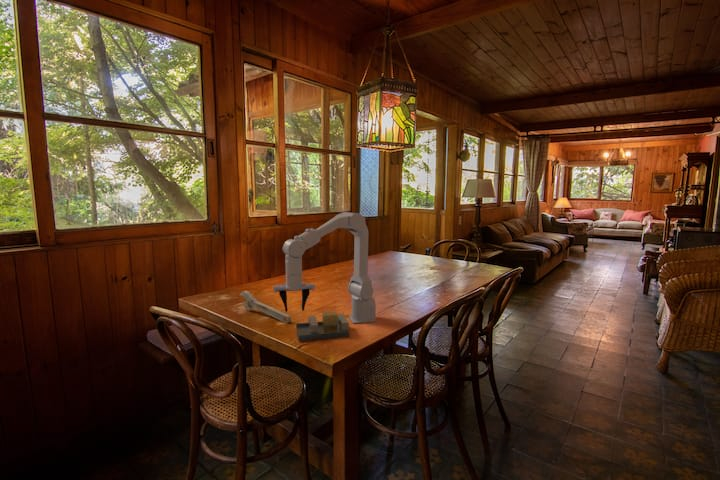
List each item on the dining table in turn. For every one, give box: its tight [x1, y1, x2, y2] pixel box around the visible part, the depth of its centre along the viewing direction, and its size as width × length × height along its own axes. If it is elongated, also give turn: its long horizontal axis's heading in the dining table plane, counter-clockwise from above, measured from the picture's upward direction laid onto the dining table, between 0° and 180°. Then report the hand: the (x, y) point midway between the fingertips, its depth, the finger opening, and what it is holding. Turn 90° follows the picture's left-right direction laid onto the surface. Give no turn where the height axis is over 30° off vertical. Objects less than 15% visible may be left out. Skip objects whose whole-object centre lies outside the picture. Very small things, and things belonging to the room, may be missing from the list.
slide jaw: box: [307, 315, 318, 334], centre depth 135 cm, size 2×10×4 cm, turn 13°
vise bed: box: [295, 313, 350, 343], centre depth 136 cm, size 18×12×5 cm, turn 103°
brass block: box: [321, 310, 338, 332], centre depth 137 cm, size 5×4×6 cm
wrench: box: [239, 290, 292, 324], centre depth 154 cm, size 8×2×30 cm
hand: (294, 310), depth 133 cm, fingers open, 5 cm apart
